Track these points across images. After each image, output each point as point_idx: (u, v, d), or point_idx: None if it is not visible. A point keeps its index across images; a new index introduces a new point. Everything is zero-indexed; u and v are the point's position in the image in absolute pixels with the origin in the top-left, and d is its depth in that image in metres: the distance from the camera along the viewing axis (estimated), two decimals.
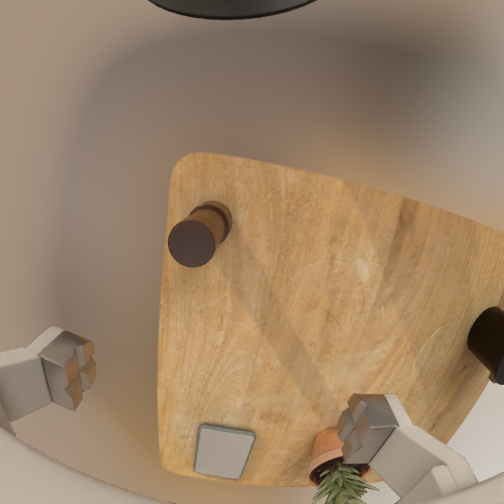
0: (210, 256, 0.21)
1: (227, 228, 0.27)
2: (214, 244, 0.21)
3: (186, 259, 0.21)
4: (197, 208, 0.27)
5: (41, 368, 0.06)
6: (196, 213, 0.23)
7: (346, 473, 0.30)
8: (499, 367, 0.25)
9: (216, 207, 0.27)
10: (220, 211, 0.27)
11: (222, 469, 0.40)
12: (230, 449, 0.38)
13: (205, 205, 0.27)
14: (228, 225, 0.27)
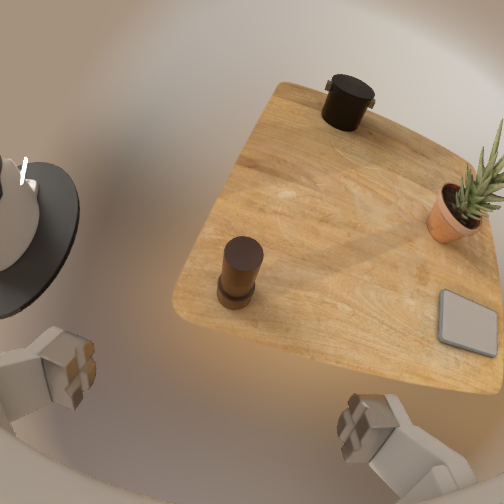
0: (255, 241, 0.26)
1: None
2: (246, 237, 0.27)
3: (256, 259, 0.26)
4: (220, 289, 0.31)
5: (41, 368, 0.06)
6: (222, 268, 0.28)
7: (461, 198, 0.38)
8: (359, 96, 0.45)
9: None
10: None
11: (488, 326, 0.36)
12: (462, 314, 0.36)
13: (218, 282, 0.32)
14: None
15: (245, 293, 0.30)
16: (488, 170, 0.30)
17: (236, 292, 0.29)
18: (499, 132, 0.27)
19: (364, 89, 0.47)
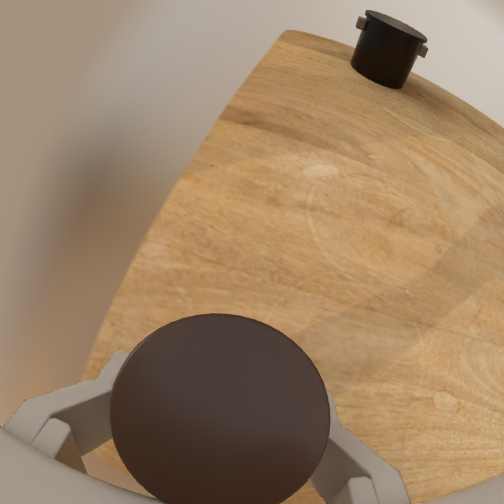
0: (285, 341, 0.05)
1: None
2: (234, 318, 0.05)
3: (292, 449, 0.04)
4: None
5: None
6: None
7: None
8: (410, 34, 0.24)
9: None
10: None
11: None
12: None
13: None
14: None
15: None
16: None
17: None
18: None
19: (412, 30, 0.26)
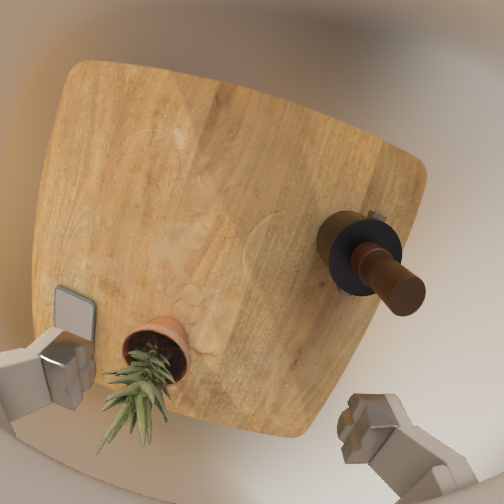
0: (418, 308, 0.21)
1: None
2: (423, 298, 0.21)
3: (399, 309, 0.21)
4: (372, 251, 0.27)
5: (41, 368, 0.06)
6: (395, 263, 0.23)
7: (154, 358, 0.35)
8: (332, 258, 0.30)
9: (388, 253, 0.27)
10: (390, 257, 0.27)
11: None
12: (77, 321, 0.42)
13: (380, 249, 0.27)
14: None
15: (366, 280, 0.26)
16: (122, 388, 0.27)
17: (368, 273, 0.26)
18: (139, 432, 0.22)
19: None
